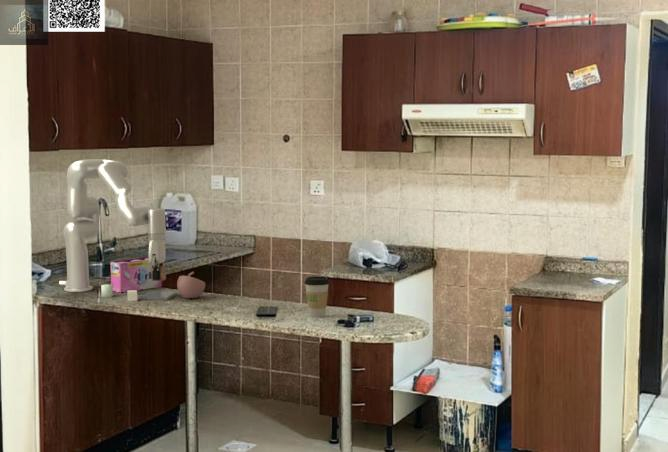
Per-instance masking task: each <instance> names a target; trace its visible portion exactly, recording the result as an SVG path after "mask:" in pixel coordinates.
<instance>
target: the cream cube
mask: <svg viewBox="0 0 668 452" xmlns="http://www.w3.org/2000/svg"><path fill="white" fill-rule="evenodd" d="M126 294H127V302H137V301H138V290H129V291H127V292H126Z"/></svg>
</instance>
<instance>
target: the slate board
mask: <svg viewBox="0 0 668 452" xmlns="http://www.w3.org/2000/svg"><path fill="white" fill-rule="evenodd" d="M176 294H178V292H177V291H166V290H165V291H164V290H163V291H161V290H160V291H159V290H158V291H157V290H156V291H154V290H150V291H148V292H147V293H144V294H143V295H141V296H140V297H139V300H142V301H146V300H145V299H148V300H147V301H169V300H170V299H172V298H173V297H175V296H177V295H176ZM174 295H175V296H174ZM171 297H172V298H171Z"/></svg>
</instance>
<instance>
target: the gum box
mask: <svg viewBox="0 0 668 452" xmlns="http://www.w3.org/2000/svg"><path fill="white" fill-rule="evenodd" d="M155 263H157V262H155ZM151 267H152V265H151V264H149V256H144V257H143V256H141V257H136V258H128V259H122V260H113V261H112V260H111V261H110V284H111V285H112V286H113V291H116V292H115V293H118V292H120V293H119V294H122V293H121V292H124V293H127V291H129V290H137V291H141V289H143V290H148V289H155V288H160V287H162V286H163V284H162V282H163V281H151Z"/></svg>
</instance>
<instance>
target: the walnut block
mask: <svg viewBox="0 0 668 452" xmlns="http://www.w3.org/2000/svg"><path fill="white" fill-rule="evenodd" d="M156 266H157V265H156ZM166 269H167V265H165V264H164V265H159V271H160V280H153V274H152V267H151V281H162V282H164V281H165V280H167V272H166V271H167V270H166Z"/></svg>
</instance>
